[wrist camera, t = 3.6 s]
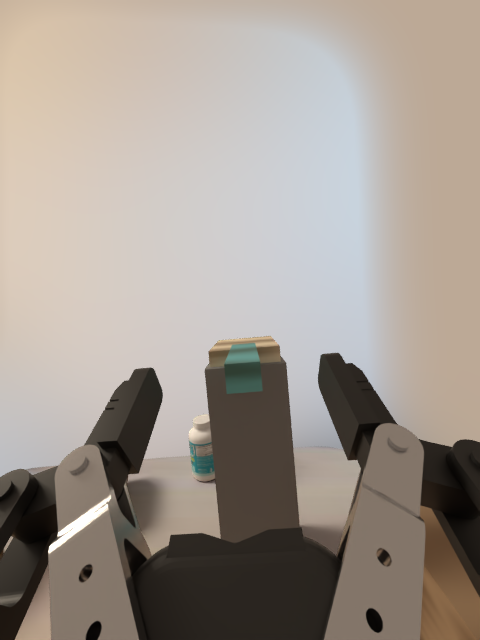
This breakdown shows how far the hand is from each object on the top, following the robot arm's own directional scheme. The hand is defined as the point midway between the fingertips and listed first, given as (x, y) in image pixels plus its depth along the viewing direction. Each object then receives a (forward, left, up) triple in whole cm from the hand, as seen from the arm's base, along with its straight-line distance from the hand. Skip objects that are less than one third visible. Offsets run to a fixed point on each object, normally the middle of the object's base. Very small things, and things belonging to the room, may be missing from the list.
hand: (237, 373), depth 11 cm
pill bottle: (+32, +32, -36) cm, 58 cm away
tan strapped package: (+16, +9, -4) cm, 19 cm away
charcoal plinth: (+20, +11, -36) cm, 42 cm away
